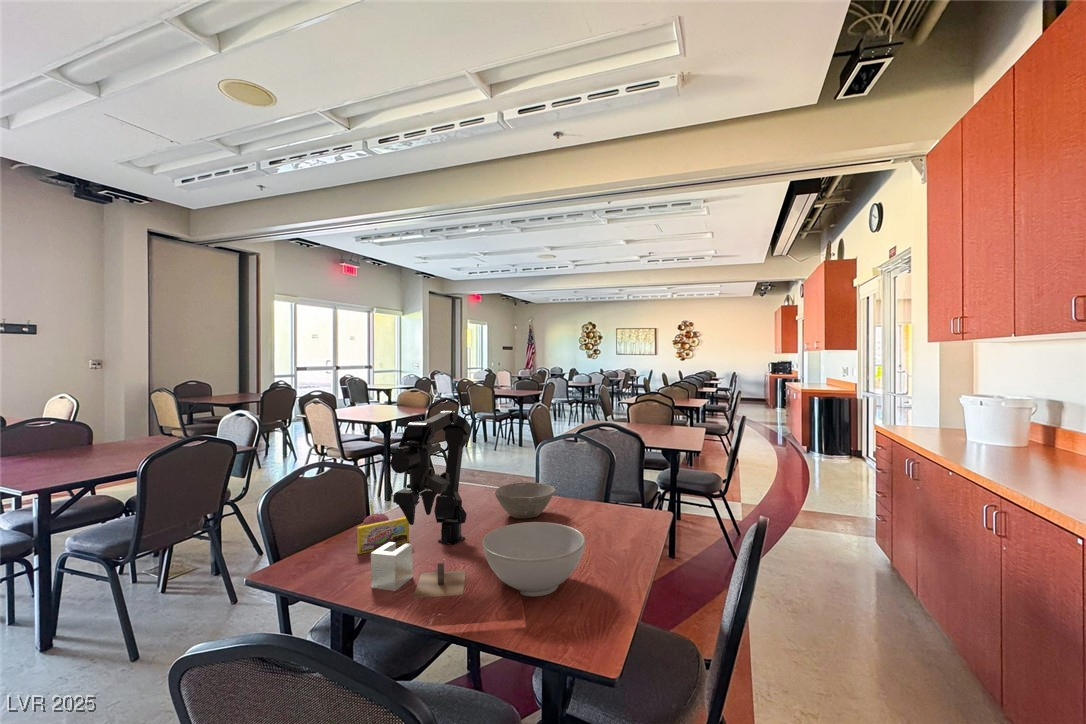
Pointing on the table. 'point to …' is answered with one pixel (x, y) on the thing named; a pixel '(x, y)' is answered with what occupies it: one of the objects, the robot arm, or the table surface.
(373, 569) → the c link
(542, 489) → the ceramic bowl
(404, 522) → the candy box
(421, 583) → the peg stand
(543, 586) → the decorative bowl
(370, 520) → the pink sprinkled cake pop
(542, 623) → the table surface
